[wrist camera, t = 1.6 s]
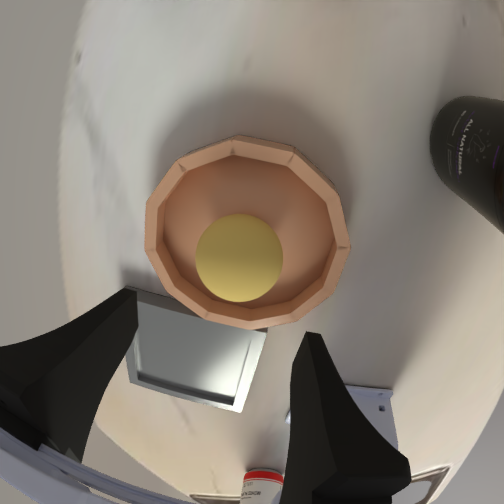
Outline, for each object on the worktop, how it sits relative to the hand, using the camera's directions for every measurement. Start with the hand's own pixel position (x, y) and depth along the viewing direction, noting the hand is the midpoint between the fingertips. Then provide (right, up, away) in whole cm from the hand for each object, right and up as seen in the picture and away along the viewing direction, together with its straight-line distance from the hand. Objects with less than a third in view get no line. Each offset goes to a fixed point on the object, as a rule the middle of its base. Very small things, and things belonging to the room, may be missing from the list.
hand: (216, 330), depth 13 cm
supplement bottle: (+16, +10, +3) cm, 19 cm away
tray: (-4, -6, +15) cm, 16 cm away
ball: (+1, +4, +8) cm, 9 cm away
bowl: (+1, +4, +8) cm, 9 cm away
